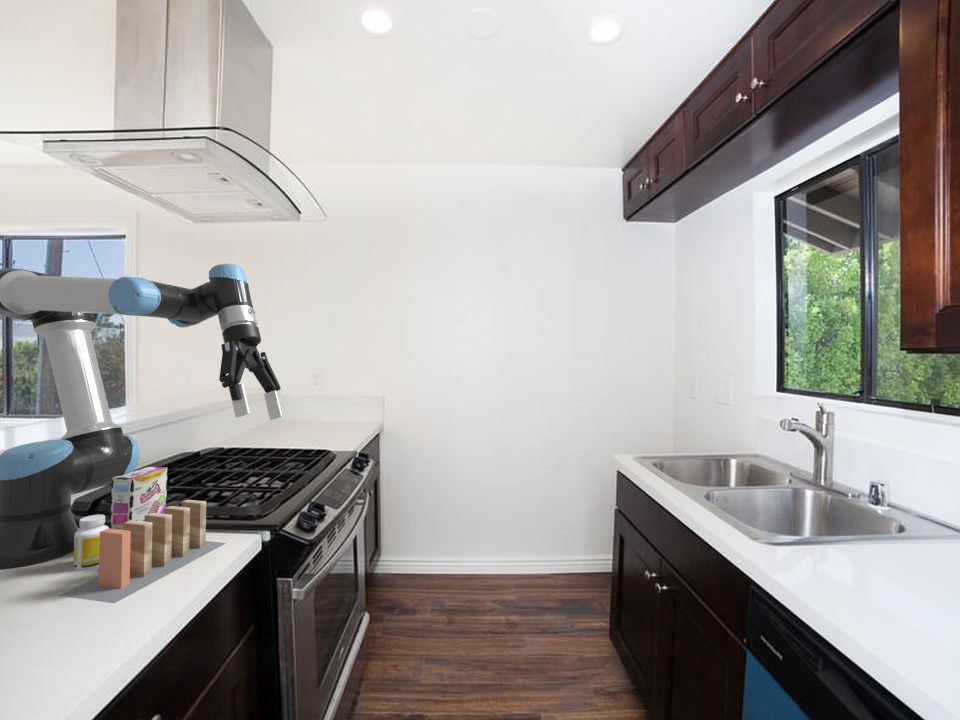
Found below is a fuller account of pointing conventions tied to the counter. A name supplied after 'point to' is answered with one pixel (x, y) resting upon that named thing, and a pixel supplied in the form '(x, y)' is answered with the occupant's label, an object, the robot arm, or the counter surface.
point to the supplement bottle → (88, 542)
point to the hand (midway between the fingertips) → (260, 417)
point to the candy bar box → (138, 495)
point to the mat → (137, 578)
